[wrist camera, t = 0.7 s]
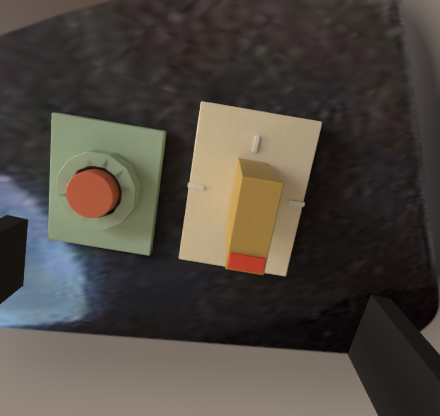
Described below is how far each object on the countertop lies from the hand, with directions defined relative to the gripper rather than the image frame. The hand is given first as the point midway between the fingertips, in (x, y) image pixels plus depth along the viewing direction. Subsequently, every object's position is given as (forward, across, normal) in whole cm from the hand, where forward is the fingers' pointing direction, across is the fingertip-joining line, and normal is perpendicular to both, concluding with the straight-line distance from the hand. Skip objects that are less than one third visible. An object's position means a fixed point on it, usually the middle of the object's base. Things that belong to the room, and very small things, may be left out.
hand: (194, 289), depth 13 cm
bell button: (+17, -10, -2) cm, 20 cm away
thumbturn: (+17, +3, 0) cm, 17 cm away
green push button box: (+20, -10, -2) cm, 22 cm away
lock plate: (+20, +3, 0) cm, 20 cm away
